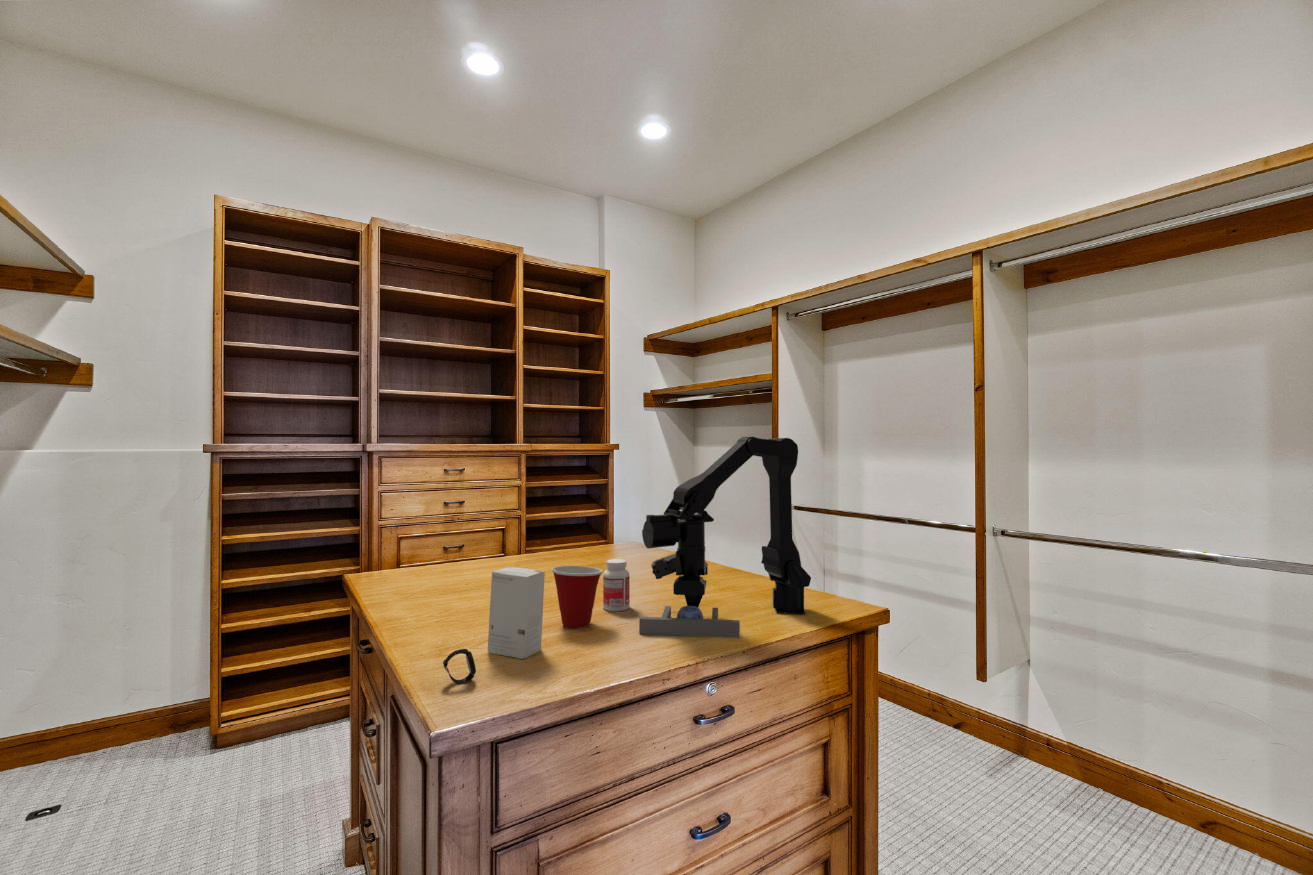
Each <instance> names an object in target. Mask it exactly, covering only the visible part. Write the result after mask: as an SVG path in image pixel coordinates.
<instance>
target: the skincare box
mask: <svg viewBox="0 0 1313 875" xmlns="http://www.w3.org/2000/svg"><path fill="white" fill-rule="evenodd" d="M545 573H546V572H545V571H542V570H536V569H530V568H525V567H523V568H522V567H515V566H507V567H504V568H500V569H495V570H493V571H491V579H490V580H491V583H490V584H491V586H490V600H489V601H490V602H489V618H488V619H489V621H488V634H487V635H488V637H487V653H488V654H492V655H498V656H505V657H511V658H512V657H513V658H516V659H521V660H525V659H526V658H528V657H530V656H532V655H534V654H536V653H537V652H540V651H541V650H542V636H543V617H544V616H543V613H544V596H545V595H544V594H545V593H544V592H545V576H546V575H545Z"/></svg>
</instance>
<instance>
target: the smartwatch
mask: <svg viewBox="0 0 1313 875" xmlns="http://www.w3.org/2000/svg"><path fill="white" fill-rule="evenodd" d="M460 654H461V655H462V654H463V655H465V659H466V664H467V668H468V670H469V673H468V675H467V676H465V677H464V678H462V679H456V678H454V677H453V676H452V675H451V674H450V671H449V668H448V664H449V663H448V662H450V660H451V659H452V658H453V657H455V656H457V655H460ZM442 664H443V667H444V670H445V671H446V672H447V673H448V675H449V676H448V677H449V678H450V680H451V681H452V682H453V683H454V684H456V685H464V684H466V683H467V682H469V681H471V680H473V678H474V677H475V675H476V672H477V670H476V664H475V660H474V656H473V654H472V652H471V651H470V650H469V649H467V648H461V649H457V650H454V651H452V652H451V653H449V655H447V657H446V658H445V659H443V662H442Z"/></svg>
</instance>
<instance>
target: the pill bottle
mask: <svg viewBox="0 0 1313 875" xmlns="http://www.w3.org/2000/svg"><path fill="white" fill-rule="evenodd" d="M605 565H606V568H607V569H606V570H605V571H603V574H602V584H603V585H602V587H603V588H602V590H603V591H602V592H603V593H602V595H603V597H602V598H603V599H602V604H603V609H604V610H605V611H609V612H623V611H626V610H627V611H628V609H629V608H630V605H631V604H630V592H631V590H630V585H631V584H630V579H631V578H630V572H629V570H628V569H627V560H626V559H623V558H612V559H608V560H607V561H606V564H605Z"/></svg>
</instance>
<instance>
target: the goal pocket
mask: <svg viewBox="0 0 1313 875" xmlns="http://www.w3.org/2000/svg"><path fill="white" fill-rule="evenodd" d="M638 621H639V623H638V624H639V626H638V628H639V629H638V630H639V631H638V633H639V635H657V636H658V635H659V636H661V635H664V636H686V637H687V636H688V637H705V636H707V638H708V637H709V638H734V639H735V638H736V639H739V638H741V634H740V629H741V628H740V627H741V624H740V623H741V622H740V620H739V619H719V607H712V610H711V618H703V619H690V618H677V617H672V606H671V605H665V606H664V610H663V612H662V615H661V617H656V616H640V617H639V620H638Z"/></svg>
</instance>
